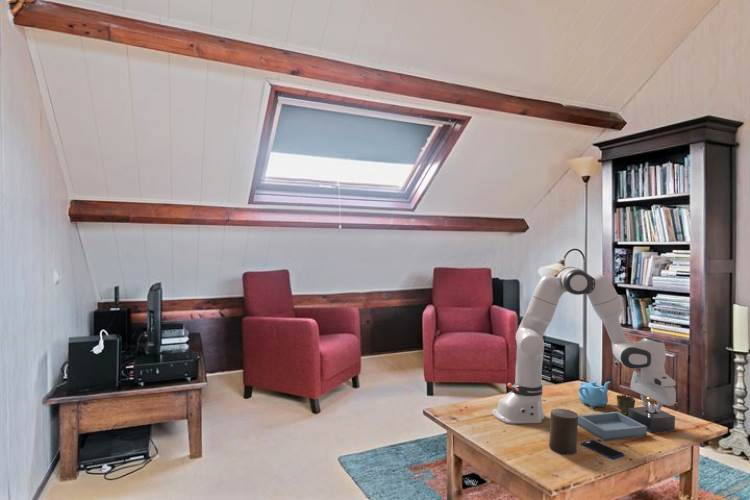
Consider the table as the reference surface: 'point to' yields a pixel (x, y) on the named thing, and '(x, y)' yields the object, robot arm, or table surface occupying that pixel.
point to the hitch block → (653, 419)
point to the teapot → (593, 394)
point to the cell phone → (603, 449)
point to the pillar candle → (563, 431)
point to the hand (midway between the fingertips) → (651, 408)
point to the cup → (625, 403)
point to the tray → (612, 426)
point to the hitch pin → (651, 405)
